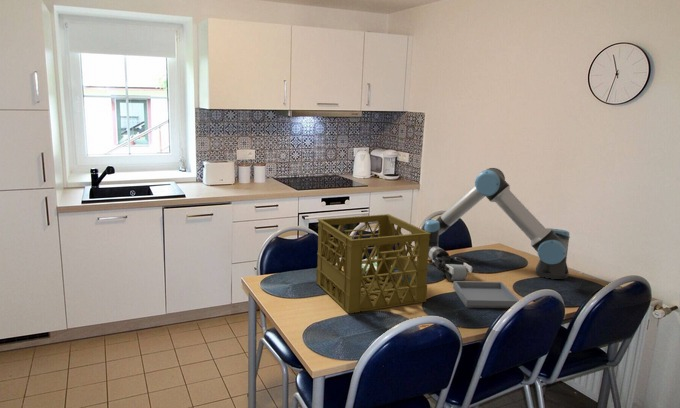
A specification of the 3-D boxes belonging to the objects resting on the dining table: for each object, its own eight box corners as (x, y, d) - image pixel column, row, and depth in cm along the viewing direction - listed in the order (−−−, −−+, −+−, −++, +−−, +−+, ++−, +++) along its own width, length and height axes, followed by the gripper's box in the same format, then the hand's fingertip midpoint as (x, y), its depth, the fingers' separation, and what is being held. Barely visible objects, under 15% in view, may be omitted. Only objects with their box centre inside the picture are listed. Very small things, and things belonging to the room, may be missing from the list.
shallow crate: (501, 288, 230) (501, 281, 229) (519, 308, 209) (520, 301, 208) (453, 287, 229) (453, 281, 229) (466, 307, 208) (466, 300, 207)
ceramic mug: (467, 282, 237) (469, 266, 235) (451, 283, 235) (452, 267, 234) (457, 274, 247) (458, 259, 246) (442, 275, 245) (443, 260, 244)
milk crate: (316, 283, 229) (317, 219, 223) (385, 275, 243) (388, 214, 237) (348, 314, 198) (351, 240, 191) (426, 303, 212) (430, 233, 205)
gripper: (457, 261, 259) (482, 276, 238) (419, 264, 252) (440, 280, 231) (458, 247, 257) (483, 261, 236) (420, 250, 251) (441, 264, 230)
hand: (462, 270), depth 234 cm, fingers open, 9 cm apart
